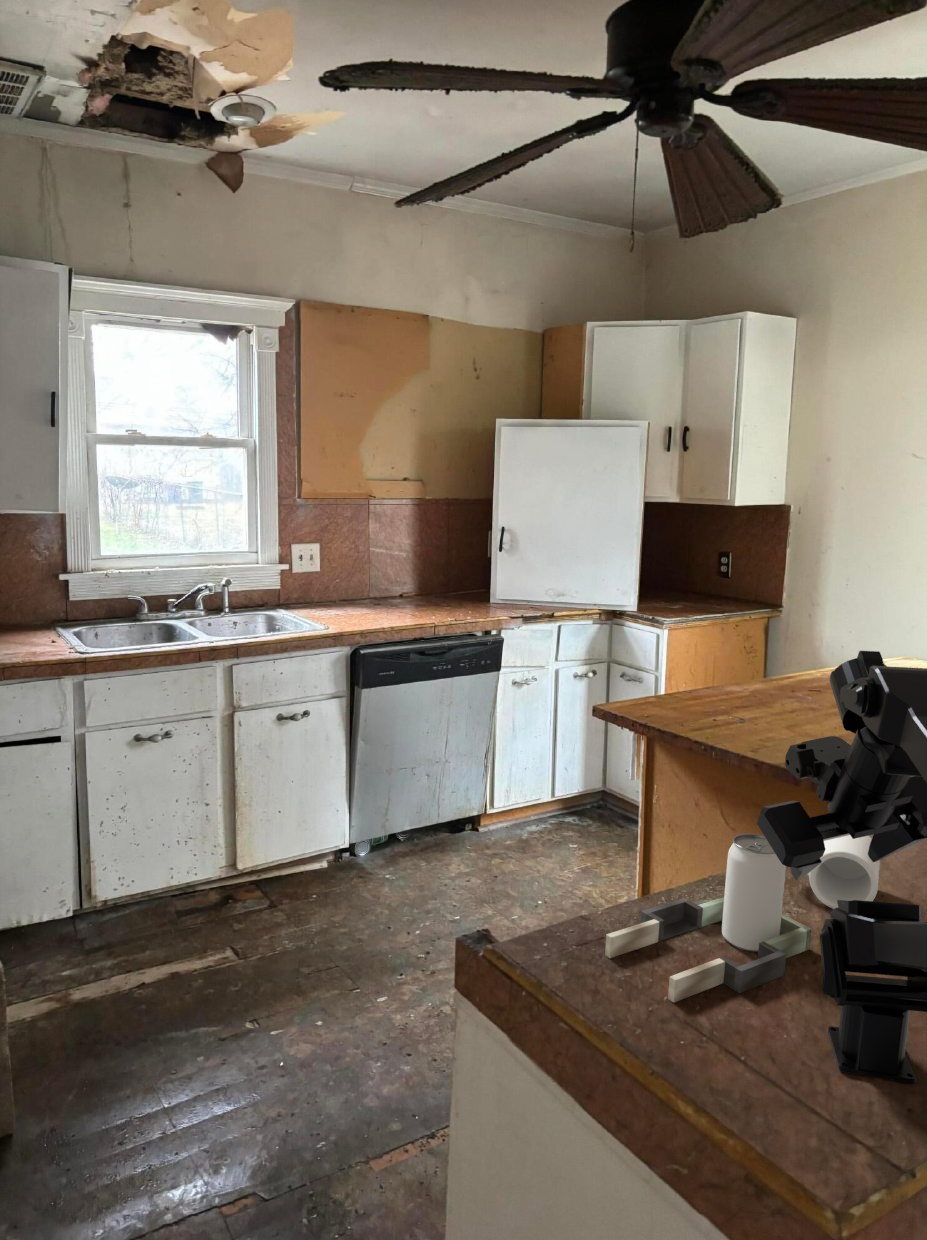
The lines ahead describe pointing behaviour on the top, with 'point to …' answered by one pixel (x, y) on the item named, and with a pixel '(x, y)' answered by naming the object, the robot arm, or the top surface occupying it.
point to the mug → (845, 872)
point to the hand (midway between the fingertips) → (833, 867)
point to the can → (752, 893)
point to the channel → (691, 916)
